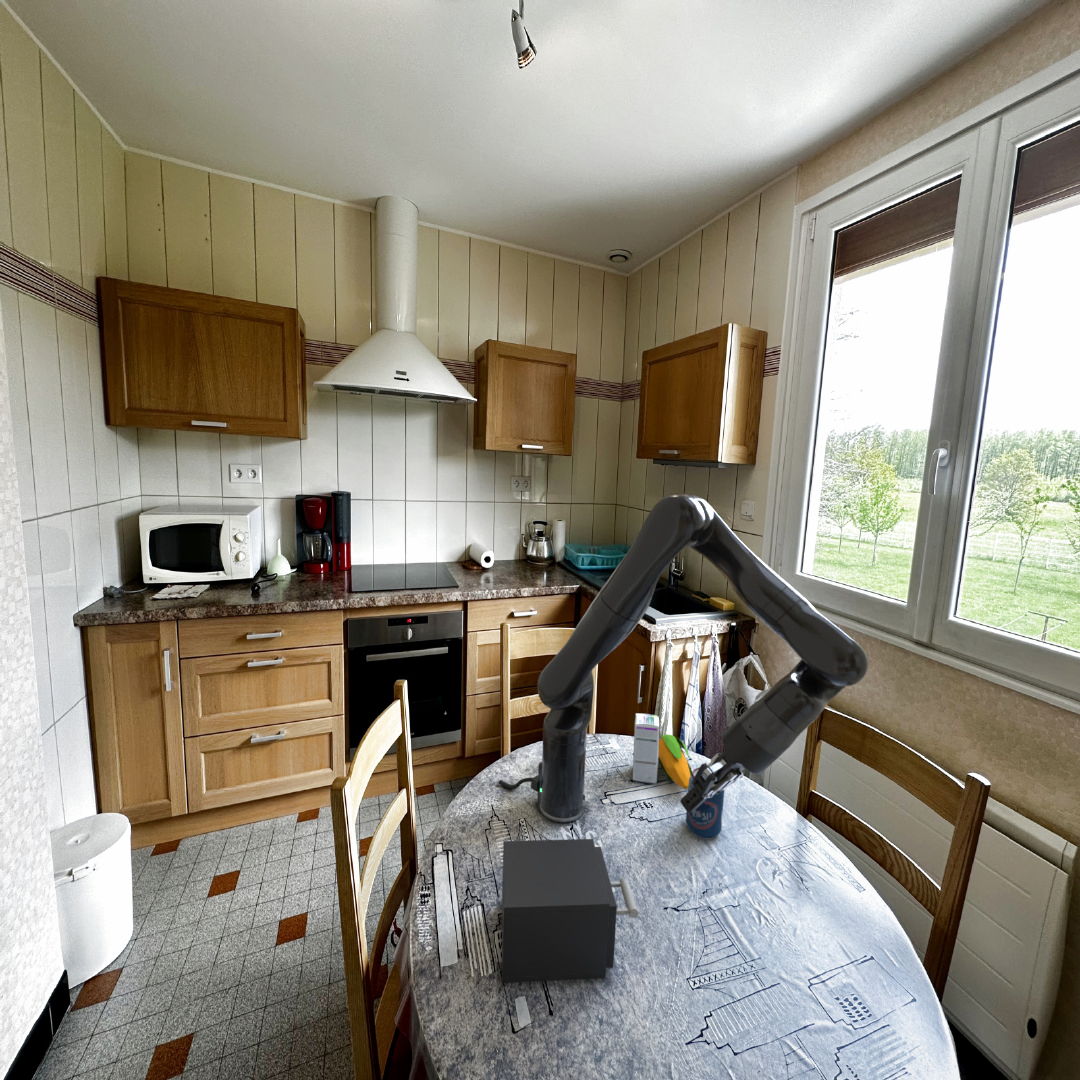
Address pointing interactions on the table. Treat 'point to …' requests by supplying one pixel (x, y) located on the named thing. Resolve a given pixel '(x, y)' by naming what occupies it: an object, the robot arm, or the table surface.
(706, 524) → the robot arm
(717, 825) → the soda can
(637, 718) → the syrup box
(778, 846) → the table surface
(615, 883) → the dark grey drawer
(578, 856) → the grey drawer cabinet
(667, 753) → the corn
